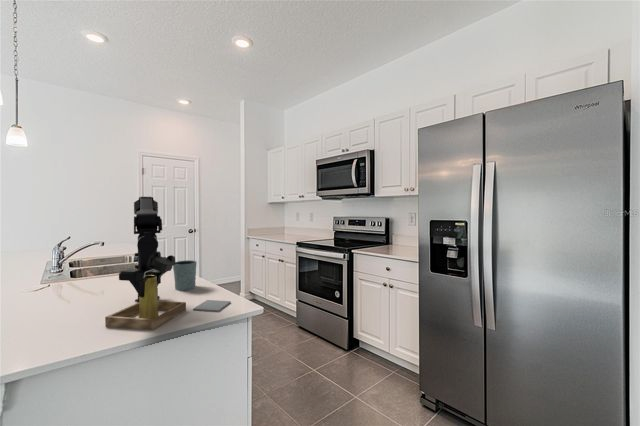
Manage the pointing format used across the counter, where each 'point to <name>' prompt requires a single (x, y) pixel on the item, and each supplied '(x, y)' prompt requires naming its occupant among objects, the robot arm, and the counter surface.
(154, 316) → the vase
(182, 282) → the grey-blue cup
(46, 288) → the counter surface
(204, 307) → the slate mat
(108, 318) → the wooden frame
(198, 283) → the counter surface
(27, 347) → the counter surface
